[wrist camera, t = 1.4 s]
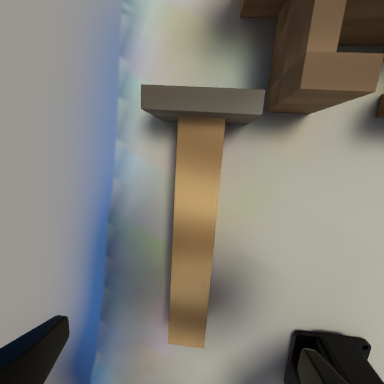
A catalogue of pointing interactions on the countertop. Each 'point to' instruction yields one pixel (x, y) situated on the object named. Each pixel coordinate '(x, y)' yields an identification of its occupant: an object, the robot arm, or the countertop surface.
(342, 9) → the walnut box
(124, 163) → the countertop surface
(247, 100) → the hammer
